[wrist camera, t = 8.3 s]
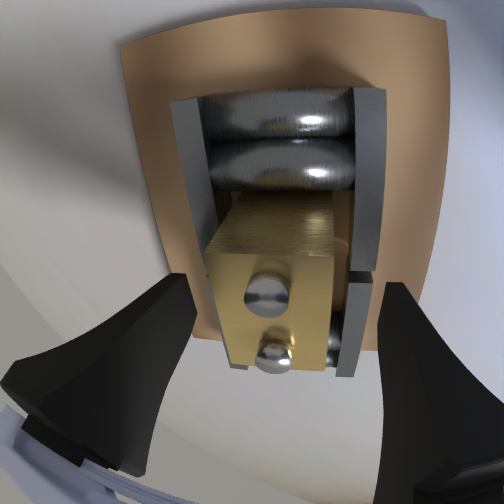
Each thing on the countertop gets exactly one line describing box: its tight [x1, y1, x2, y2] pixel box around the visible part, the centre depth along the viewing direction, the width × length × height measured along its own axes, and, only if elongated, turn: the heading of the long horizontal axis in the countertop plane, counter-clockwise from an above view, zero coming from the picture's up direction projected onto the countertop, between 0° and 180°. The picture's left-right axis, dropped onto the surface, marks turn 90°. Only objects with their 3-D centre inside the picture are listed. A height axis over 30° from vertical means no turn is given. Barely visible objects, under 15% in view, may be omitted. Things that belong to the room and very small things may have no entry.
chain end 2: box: [206, 254, 373, 377], centre depth 15 cm, size 7×7×2 cm
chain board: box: [120, 7, 450, 351], centre depth 13 cm, size 13×17×1 cm
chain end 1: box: [170, 86, 387, 271], centre depth 11 cm, size 7×7×2 cm
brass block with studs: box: [203, 190, 335, 374], centre depth 11 cm, size 4×5×6 cm
